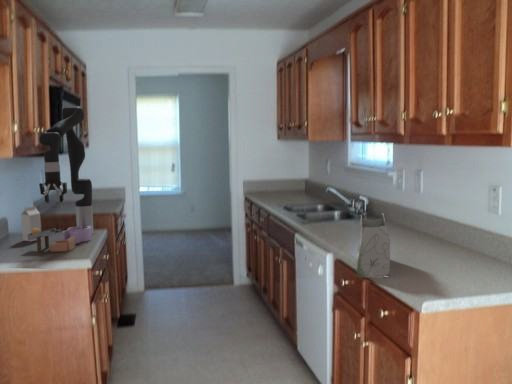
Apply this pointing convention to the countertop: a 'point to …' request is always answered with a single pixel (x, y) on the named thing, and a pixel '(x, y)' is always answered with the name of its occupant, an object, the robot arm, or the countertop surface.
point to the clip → (78, 233)
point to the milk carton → (30, 221)
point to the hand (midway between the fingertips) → (54, 202)
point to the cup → (63, 245)
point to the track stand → (40, 243)
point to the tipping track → (43, 233)
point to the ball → (35, 231)
